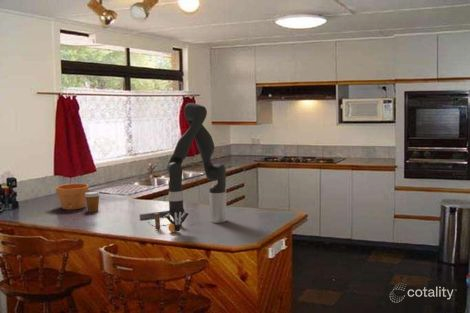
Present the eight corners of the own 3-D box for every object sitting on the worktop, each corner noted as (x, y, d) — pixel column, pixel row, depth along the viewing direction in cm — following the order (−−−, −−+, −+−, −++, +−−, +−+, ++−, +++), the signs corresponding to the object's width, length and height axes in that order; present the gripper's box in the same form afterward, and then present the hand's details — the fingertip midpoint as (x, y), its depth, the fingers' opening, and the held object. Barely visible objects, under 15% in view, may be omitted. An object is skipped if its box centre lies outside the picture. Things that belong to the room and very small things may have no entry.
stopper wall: (139, 219, 323) (139, 214, 322) (168, 215, 330) (168, 210, 329) (140, 219, 321) (140, 214, 320) (169, 216, 328) (169, 211, 328)
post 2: (176, 226, 302) (176, 210, 301) (181, 225, 303) (180, 210, 302) (178, 227, 300) (177, 211, 299) (182, 226, 301) (181, 210, 300)
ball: (171, 234, 286) (167, 232, 290) (181, 232, 288) (177, 229, 293) (170, 224, 285) (166, 222, 289) (179, 222, 287) (175, 219, 292)
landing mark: (146, 221, 315) (146, 221, 315) (169, 218, 321) (169, 218, 321) (153, 226, 302) (153, 226, 302) (176, 223, 308) (176, 223, 308)
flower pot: (96, 204, 369) (94, 183, 367) (76, 211, 349) (75, 189, 347) (70, 203, 376) (69, 182, 374) (50, 210, 357) (49, 188, 355)
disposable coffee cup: (87, 212, 344) (86, 194, 343) (84, 210, 352) (83, 192, 351) (102, 211, 348) (101, 192, 347) (98, 208, 357) (97, 190, 355)
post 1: (154, 229, 297) (154, 213, 296) (159, 228, 298) (158, 212, 297) (156, 230, 295) (155, 214, 294) (160, 229, 296) (159, 213, 295)
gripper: (185, 196, 290) (186, 227, 292) (161, 199, 284) (163, 231, 286) (190, 198, 283) (191, 230, 285) (166, 201, 278) (168, 234, 280)
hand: (177, 231), depth 286 cm, fingers closed
